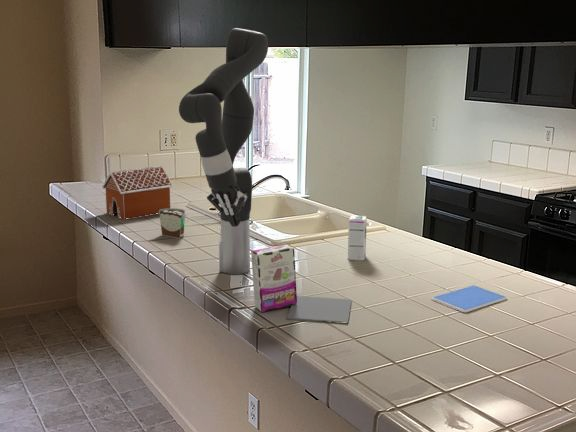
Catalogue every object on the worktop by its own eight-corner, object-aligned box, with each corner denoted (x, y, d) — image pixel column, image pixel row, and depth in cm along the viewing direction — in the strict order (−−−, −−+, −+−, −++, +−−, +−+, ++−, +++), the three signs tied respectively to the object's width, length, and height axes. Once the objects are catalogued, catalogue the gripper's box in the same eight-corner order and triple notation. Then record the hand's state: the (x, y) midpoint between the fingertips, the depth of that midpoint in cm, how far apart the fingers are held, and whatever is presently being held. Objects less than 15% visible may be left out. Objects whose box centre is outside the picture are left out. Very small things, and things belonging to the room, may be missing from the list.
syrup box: (364, 260, 214) (366, 219, 210) (347, 259, 215) (348, 218, 211) (365, 255, 219) (367, 215, 216) (348, 254, 220) (350, 214, 217)
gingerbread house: (102, 213, 274) (99, 168, 269) (153, 204, 291) (152, 162, 286) (122, 221, 261) (120, 174, 256) (175, 212, 278) (174, 167, 273)
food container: (193, 236, 241) (193, 210, 238) (183, 239, 236) (182, 213, 233) (170, 231, 247) (169, 206, 245) (159, 234, 242) (158, 209, 240)
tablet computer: (473, 288, 191) (473, 284, 191) (508, 300, 181) (509, 296, 181) (429, 301, 180) (430, 297, 179) (465, 315, 170) (465, 310, 170)
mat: (286, 319, 164) (287, 317, 164) (295, 297, 180) (295, 295, 180) (347, 323, 162) (347, 322, 162) (351, 301, 178) (351, 299, 177)
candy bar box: (289, 298, 177) (287, 243, 174) (297, 304, 173) (295, 247, 169) (253, 306, 172) (250, 249, 169) (260, 312, 168) (258, 254, 164)
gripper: (246, 161, 162) (263, 219, 170) (207, 161, 170) (224, 217, 177) (230, 174, 157) (248, 233, 165) (190, 173, 164) (209, 230, 172)
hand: (235, 225), depth 171 cm, fingers closed
